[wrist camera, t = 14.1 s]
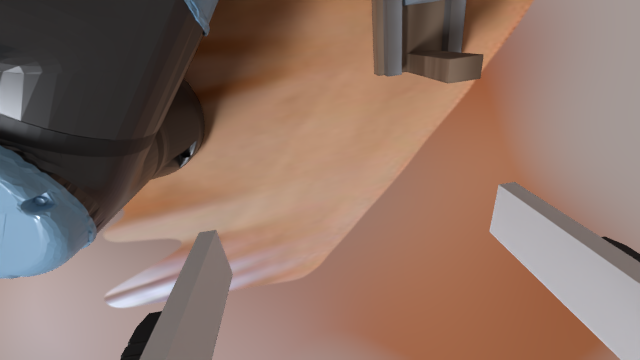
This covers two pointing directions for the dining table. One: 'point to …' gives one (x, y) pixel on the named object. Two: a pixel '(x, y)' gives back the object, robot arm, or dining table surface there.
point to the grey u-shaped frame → (422, 40)
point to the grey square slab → (416, 1)
